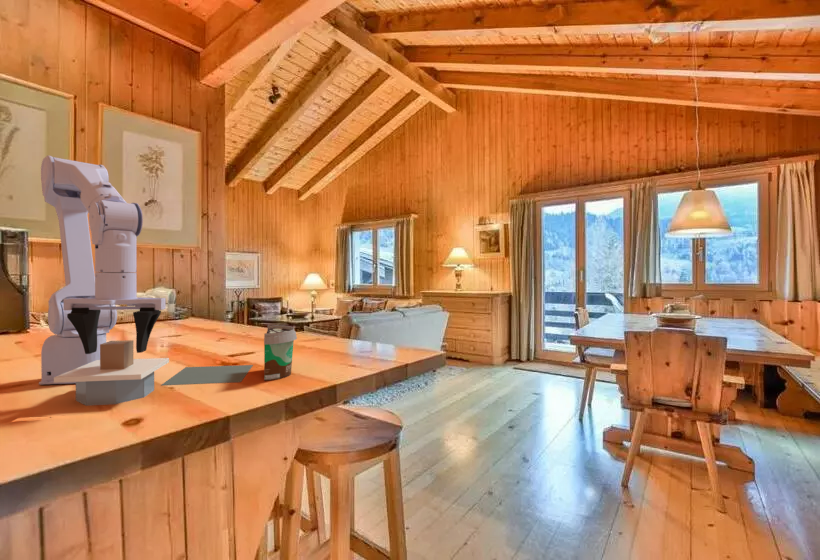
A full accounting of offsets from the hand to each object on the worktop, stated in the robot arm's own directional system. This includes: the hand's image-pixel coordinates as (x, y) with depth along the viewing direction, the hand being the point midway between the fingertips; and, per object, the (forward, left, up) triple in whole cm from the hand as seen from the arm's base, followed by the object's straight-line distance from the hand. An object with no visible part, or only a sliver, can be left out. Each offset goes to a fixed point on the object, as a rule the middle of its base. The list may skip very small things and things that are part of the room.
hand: (116, 352), depth 69 cm
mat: (+12, +12, -8) cm, 19 cm away
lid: (0, 0, -3) cm, 3 cm away
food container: (+26, +10, -8) cm, 29 cm away
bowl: (0, 0, -8) cm, 8 cm away
